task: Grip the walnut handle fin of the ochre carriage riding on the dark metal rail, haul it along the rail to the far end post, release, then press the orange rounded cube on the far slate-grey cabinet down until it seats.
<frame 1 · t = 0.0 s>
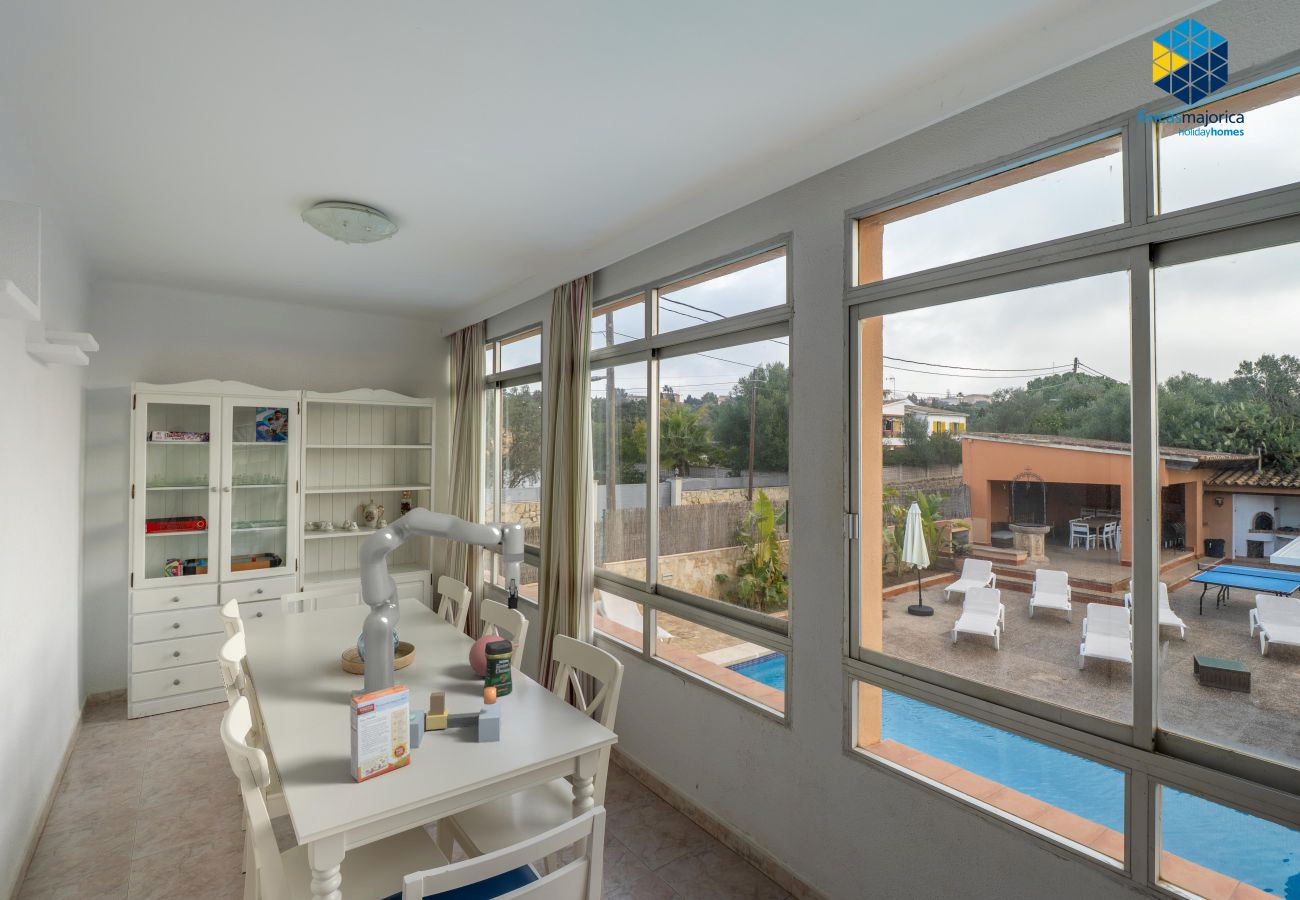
hand: (513, 605, 222), 31 cm above the table, tool pointing down, fingers open, 9 cm apart
pink rounded piece: (495, 674, 239), on the table
cabinet near: (409, 740, 185), on the table
orange rounded cube: (490, 695, 188), point 12 cm above the table, slide at 3.0 cm
cabinet far: (490, 734, 190), on the table
carriage: (437, 709, 194), point 5 cm above the table, slide at 0.0 cm
cracker box: (380, 770, 168), on the table
coffee jar: (498, 693, 221), on the table
rail: (455, 725, 195), on the table
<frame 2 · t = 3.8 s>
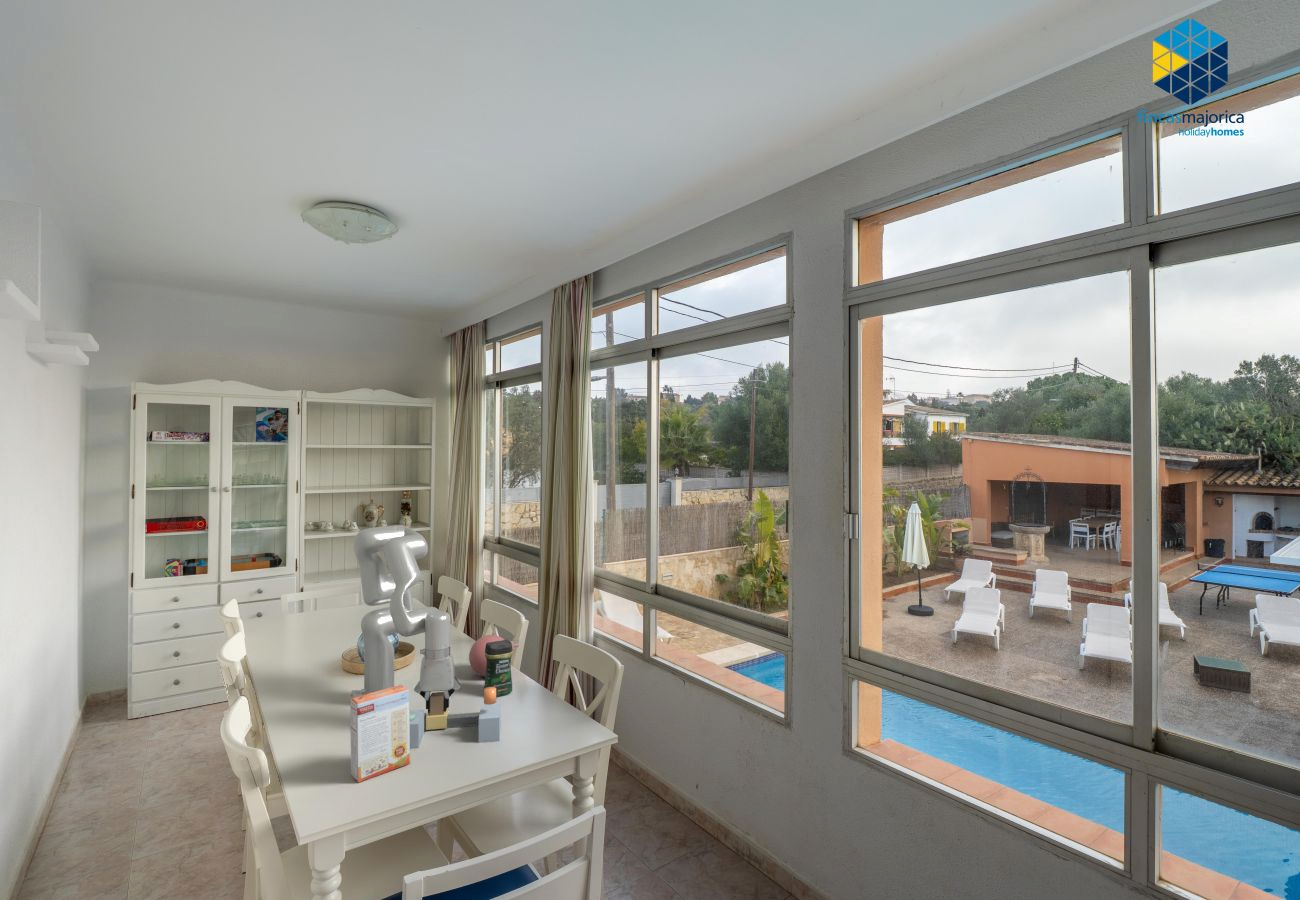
hand: (437, 710, 194), 5 cm above the table, tool pointing down, fingers closed on carriage, 4 cm apart
carriage: (437, 709, 194), point 5 cm above the table, slide at 0.0 cm, touching gripper
everything else where it was.
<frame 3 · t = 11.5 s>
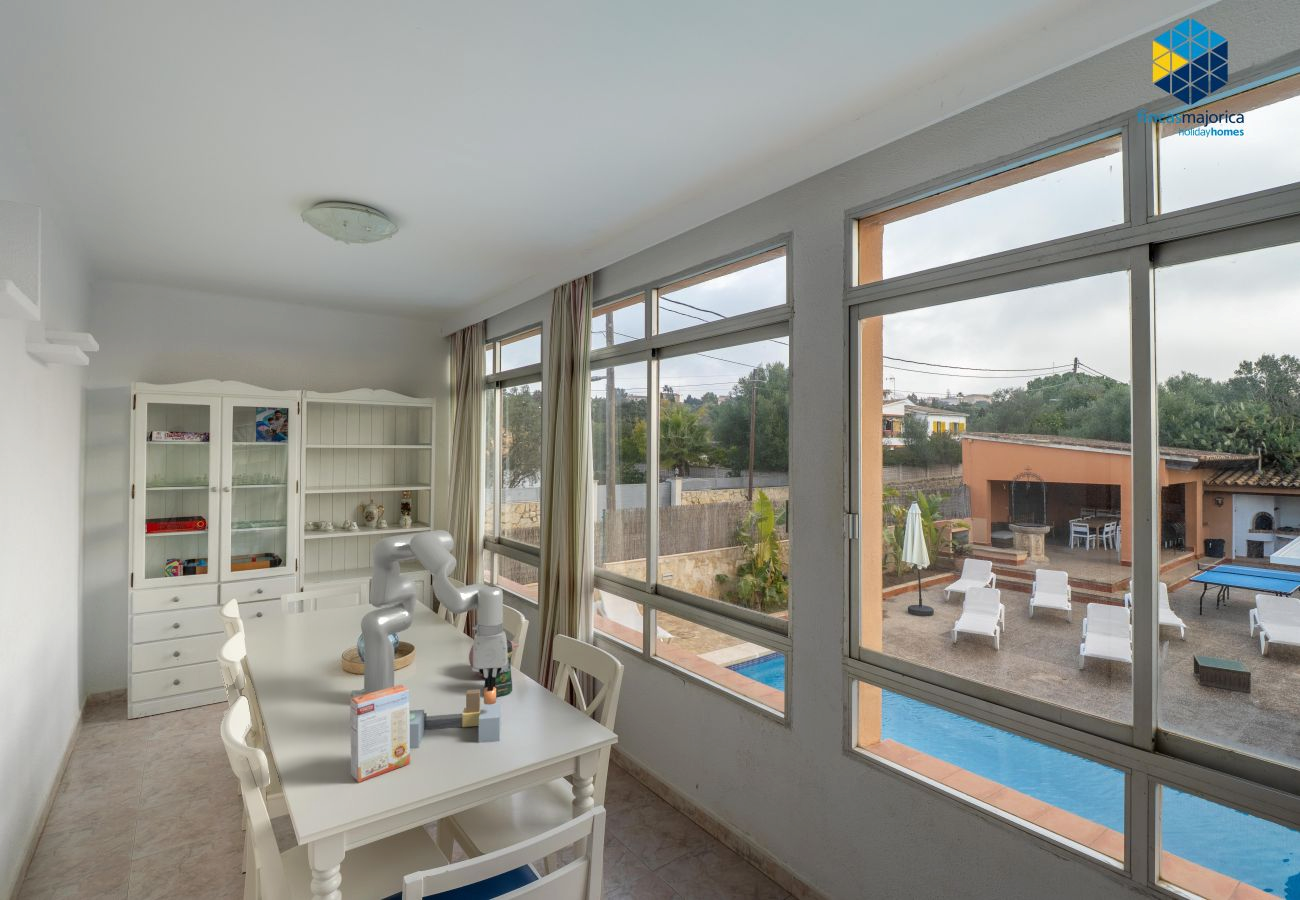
hand: (490, 689, 188), 14 cm above the table, tool pointing down, fingers closed
orange rounded cube: (490, 695, 188), point 12 cm above the table, slide at 3.0 cm, touching gripper
carriage: (473, 707, 196), point 5 cm above the table, slide at 10.8 cm
everything else where it was.
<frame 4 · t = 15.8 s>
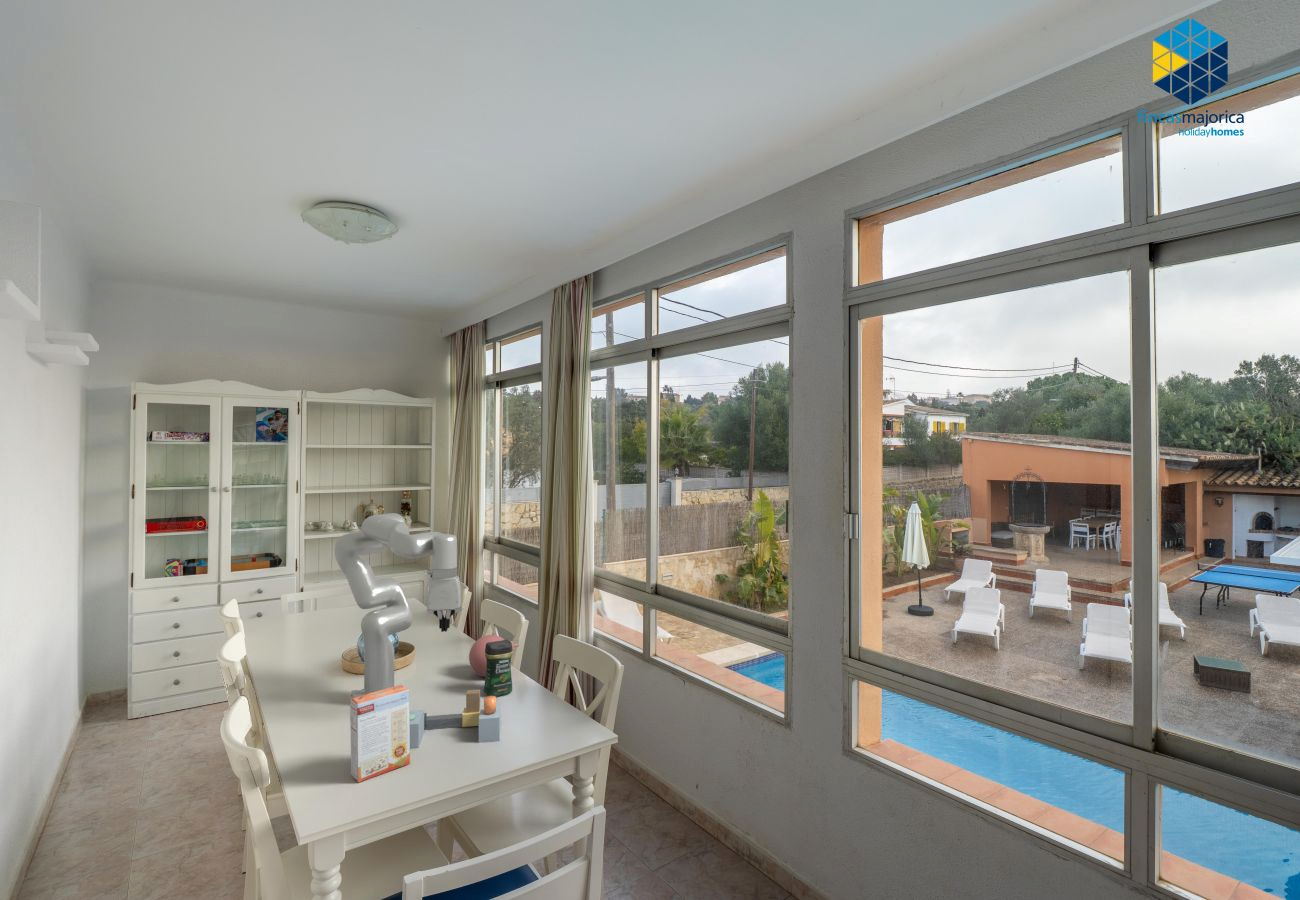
hand: (444, 630, 198), 29 cm above the table, tool pointing down, fingers closed
orange rounded cube: (490, 704, 189), point 9 cm above the table, slide at 0.2 cm
everything else where it was.
at the end: carriage slide at 10.8 cm; orange rounded cube slide at 0.2 cm; the gripper is holding nothing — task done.
